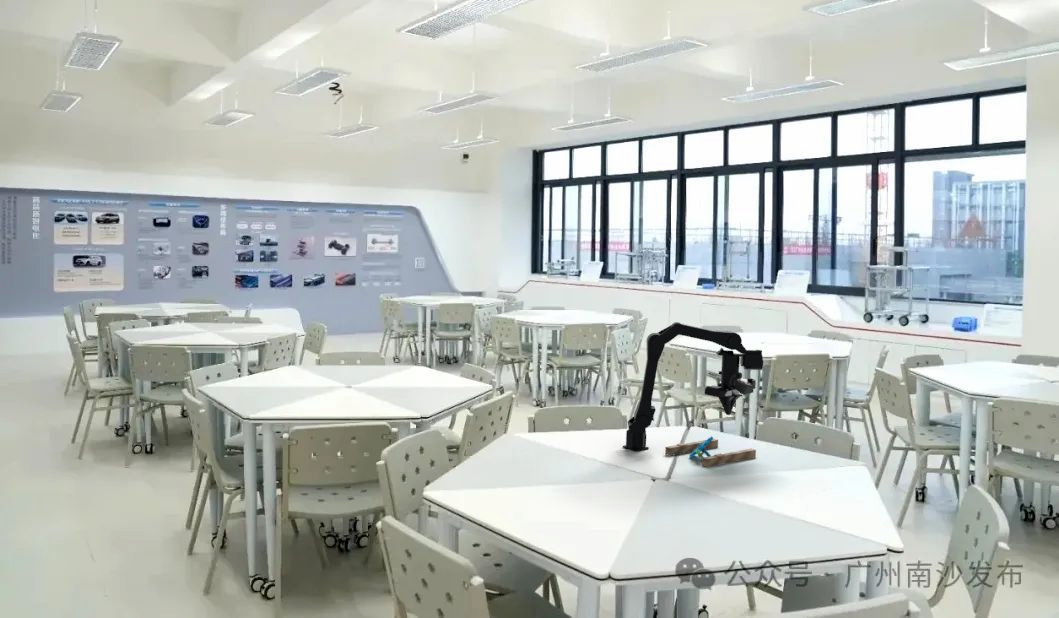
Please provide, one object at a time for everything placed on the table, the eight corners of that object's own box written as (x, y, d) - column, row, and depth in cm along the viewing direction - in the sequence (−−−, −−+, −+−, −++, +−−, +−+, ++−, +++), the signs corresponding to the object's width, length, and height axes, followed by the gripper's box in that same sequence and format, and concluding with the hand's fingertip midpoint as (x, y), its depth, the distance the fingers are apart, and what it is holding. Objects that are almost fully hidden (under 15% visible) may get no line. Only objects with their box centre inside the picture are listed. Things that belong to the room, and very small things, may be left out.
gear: (693, 448, 269) (714, 431, 264) (705, 461, 268) (726, 444, 263) (683, 459, 259) (704, 442, 255) (695, 473, 258) (717, 456, 254)
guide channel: (707, 467, 252) (707, 458, 251) (665, 454, 266) (665, 446, 266) (755, 457, 266) (756, 448, 266) (713, 445, 280) (713, 437, 280)
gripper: (731, 374, 257) (729, 422, 258) (767, 370, 268) (765, 416, 269) (704, 369, 266) (702, 415, 267) (740, 366, 277) (738, 410, 278)
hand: (728, 414), depth 270 cm, fingers closed
